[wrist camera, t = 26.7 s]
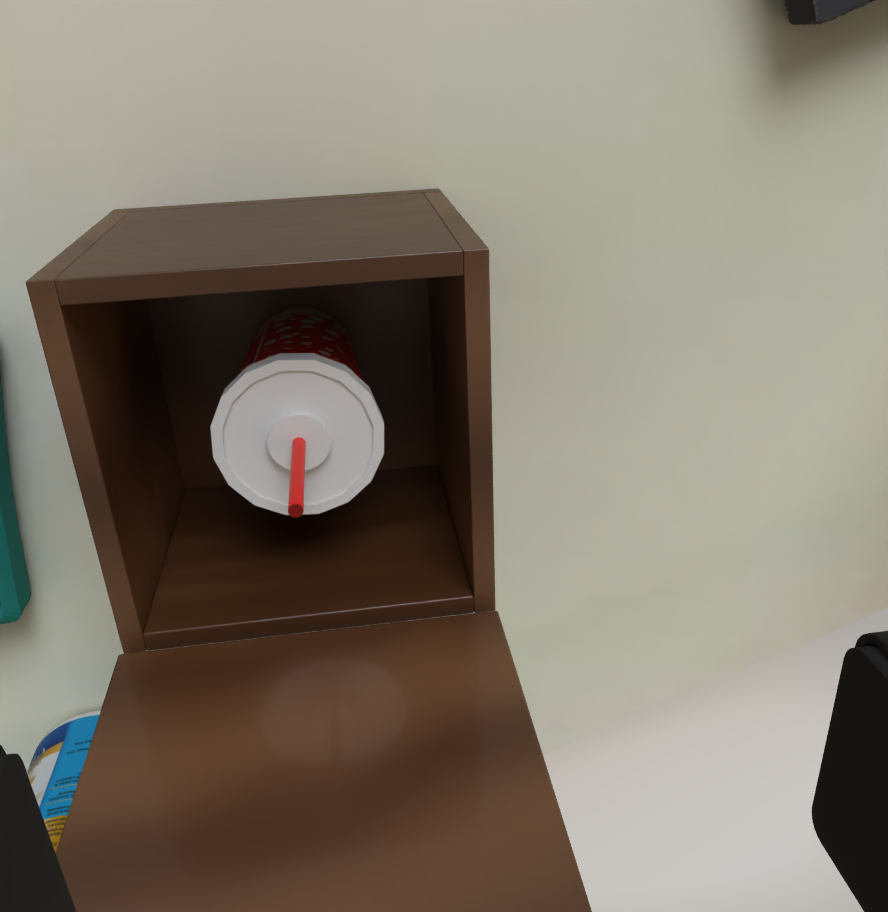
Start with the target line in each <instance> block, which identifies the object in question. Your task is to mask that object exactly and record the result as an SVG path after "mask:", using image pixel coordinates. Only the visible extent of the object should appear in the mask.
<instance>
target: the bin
mask: <svg viewBox="0 0 888 912" xmlns="http://www.w3.org/2000/svg"><path fill="white" fill-rule="evenodd" d="M26 286H27V290H28V293H29V297H30V301H31V305H32V308H33V312H34V316H35V320H36V323H37V327H38V331H39V335H40V339H41V342H42V346H43V350H44V354H45V357H46V361H47V365H48V369H49V373H50V376H51V380H52V384H53V388H54V391H55V395H56V399H57V403H58V407H59V410H60V414H61V418H62V422H63V425H64V429H65V433H66V437H67V441H68V444H69V448H70V452H71V456H72V459H73V463H74V467H75V471H76V475H77V478H78V482H79V486H80V490H81V493H82V497H83V501H84V505H85V509H86V512H87V516H88V520H89V524H90V527H91V531H92V535H93V539H94V542H95V546H96V550H97V554H98V558H99V561H100V565H101V569H102V573H103V576H104V580H105V584H106V588H107V592H108V595H109V599H110V603H111V607H112V610H113V614H114V618H115V622H116V626H117V629H118V633H119V637H120V641H121V644H122V648H123V652H124V654H126V653H135V652H144V651H146V649H147V650H148V651H149V650H158V649H167V648H175V647H184V646H193V645H201V644H210V643H218V642H227V641H236V640H244V639H253V638H262V637H270V636H279V635H288V634H296V633H305V632H313V631H322V630H331V629H339V628H348V627H357V626H365V625H374V624H382V623H391V622H400V621H408V620H417V619H426V618H434V617H443V616H451V615H460V614H469V613H473V612H475V613H480V612H489V611H495V568H494V512H493V455H492V398H491V341H490V284H489V249H488V247H487V246H486V245H485V244H484V242H483V241H482V240H481V239H480V238H479V236H478V235H477V234H476V233H475V232H474V230H473V229H472V228H471V227H470V226H469V224H468V223H467V222H466V221H465V219H464V218H463V217H462V216H461V215H460V213H459V212H458V211H457V210H456V209H455V207H454V206H453V205H452V204H451V203H450V201H449V200H448V199H447V198H446V196H445V195H444V194H443V193H442V192H441V190H440V189H428V190H412V191H397V192H381V193H366V194H350V195H334V196H319V197H303V198H288V199H272V200H257V201H241V202H226V203H210V204H195V205H179V206H164V207H148V208H133V209H117V210H113V211H112V212H110V213H109V214H108V215H107V216H105V217H104V218H103V219H102V220H101V221H99V222H98V223H97V224H96V225H94V226H93V227H92V228H91V229H90V230H88V231H87V232H86V233H85V234H84V235H82V236H81V237H80V238H79V239H77V240H76V241H75V242H74V243H73V244H71V245H70V246H69V247H68V248H66V249H65V250H64V251H63V252H62V253H60V254H59V255H58V256H57V257H55V258H54V259H53V260H52V261H51V262H49V263H48V264H47V265H46V266H44V267H43V268H42V269H41V270H40V271H38V272H37V273H36V274H35V275H33V276H32V277H31V278H30V279H29V280H27V281H26ZM289 308H314V309H317V310H319V311H322V312H324V313H327V314H329V315H331V316H332V317H333V318H335V319H336V320H337V321H338V322H339V323H340V324H341V325H342V326H343V327H344V328H345V329H346V331H347V333H348V335H349V338H350V340H351V342H352V344H353V347H354V350H355V353H356V356H357V359H358V362H359V366H360V369H361V372H362V375H363V378H364V382H365V383H366V384H367V385H368V386H369V387H370V390H371V392H372V394H373V396H374V398H375V401H376V403H377V405H378V407H379V410H380V412H381V414H382V418H383V420H384V455H383V457H382V459H381V461H380V463H379V466H378V468H377V470H376V472H375V474H374V476H373V479H372V481H371V482H370V483H369V484H368V485H367V486H366V487H364V488H363V489H362V490H361V491H360V492H359V493H358V494H357V495H356V496H355V497H354V498H352V499H351V500H350V501H349V502H348V503H345V504H343V505H340V506H337V507H335V508H332V509H330V510H327V511H325V512H322V513H320V514H303V515H301V516H300V517H297V518H294V517H291V516H290V515H284V514H281V513H278V512H274V511H271V510H268V509H265V508H262V507H259V506H255V505H253V504H252V503H251V502H250V501H248V500H247V499H246V498H244V497H243V496H242V495H241V494H239V493H238V492H237V491H236V490H234V489H233V488H232V487H230V486H229V485H228V483H227V481H226V479H225V478H224V476H223V474H222V472H221V471H220V469H219V467H218V465H217V464H216V462H215V460H214V458H213V450H212V439H211V428H210V426H211V423H212V420H213V418H214V415H215V412H216V410H217V407H218V404H219V402H220V399H221V396H222V394H223V392H224V389H225V388H226V387H227V386H228V385H229V384H230V383H231V382H232V381H233V380H234V379H235V378H236V377H237V376H238V374H239V372H240V370H241V368H242V365H243V363H244V361H245V358H246V356H247V354H248V351H249V349H250V347H251V344H252V342H253V340H254V337H255V335H256V333H257V330H258V329H259V328H260V327H261V326H262V325H263V324H264V323H265V322H266V321H267V320H268V319H269V318H270V317H271V316H272V315H274V314H276V313H279V312H281V311H284V310H286V309H289Z"/></svg>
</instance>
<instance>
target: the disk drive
mask: <svg viewBox="0 0 888 912" xmlns="http://www.w3.org/2000/svg"><path fill="white" fill-rule="evenodd" d="M872 1H874V0H785V5H786V7H787V11H788V12H789V14H788V19H789V22H790V23H791V24H792V25H795V24H796V25H799V24H803V25H806V24H821V23H824V22H827V21H829V20H833V19H835V18H837V17H838V16H841V15H844V14H846V13H848V12H850V11H852V10H854V9H856V8H859V7H861V6H864V5H866V4H867V3H869V2H872Z"/></svg>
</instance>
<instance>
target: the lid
mask: <svg viewBox="0 0 888 912" xmlns="http://www.w3.org/2000/svg"><path fill="white" fill-rule="evenodd" d="M56 856H57V859H58V861H59V864H60V867H61V870H62V873H63V875H64V878H65V881H66V884H67V887H68V889H69V892H70V895H71V898H72V901H73V903H74V906H75V909H76V912H592V911H591V908H590V904H589V901H588V898H587V895H586V892H585V888H584V885H583V882H582V879H581V876H580V872H579V869H578V866H577V863H576V860H575V856H574V853H573V850H572V847H571V844H570V840H569V837H568V834H567V831H566V828H565V825H564V821H563V818H562V815H561V812H560V809H559V805H558V802H557V799H556V796H555V793H554V789H553V786H552V784H551V780H550V777H549V773H548V770H547V767H546V764H545V761H544V757H543V754H542V751H541V748H540V745H539V741H538V738H537V735H536V732H535V729H534V726H533V722H532V719H531V716H530V713H529V710H528V706H527V703H526V700H525V697H524V694H523V690H522V687H521V684H520V681H519V678H518V674H517V671H516V668H515V665H514V662H513V658H512V655H511V652H510V649H509V646H508V642H507V639H506V636H505V633H504V630H503V627H502V623H501V620H500V617H499V614H498V612H497V611H490V612H482V613H473V614H464V615H456V616H447V617H439V618H430V619H421V620H413V621H404V622H395V623H387V624H378V625H370V626H361V627H352V628H344V629H335V630H326V631H318V632H309V633H301V634H292V635H283V636H275V637H266V638H257V639H249V640H240V641H232V642H223V643H214V644H206V645H197V646H188V647H180V648H171V649H163V650H154V651H145V652H137V653H128V654H120V655H119V656H118V659H117V662H116V665H115V669H114V672H113V675H112V678H111V681H110V684H109V687H108V690H107V694H106V697H105V700H104V703H103V706H102V709H101V712H100V715H99V718H98V722H97V725H96V728H95V731H94V734H93V737H92V740H91V743H90V747H89V750H88V753H87V756H86V759H85V762H84V765H83V768H82V772H81V775H80V778H79V781H78V784H77V787H76V790H75V793H74V797H73V800H72V803H71V806H70V809H69V812H68V815H67V818H66V821H65V825H64V828H63V831H62V834H61V837H60V840H59V843H58V846H57V850H56Z"/></svg>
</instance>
